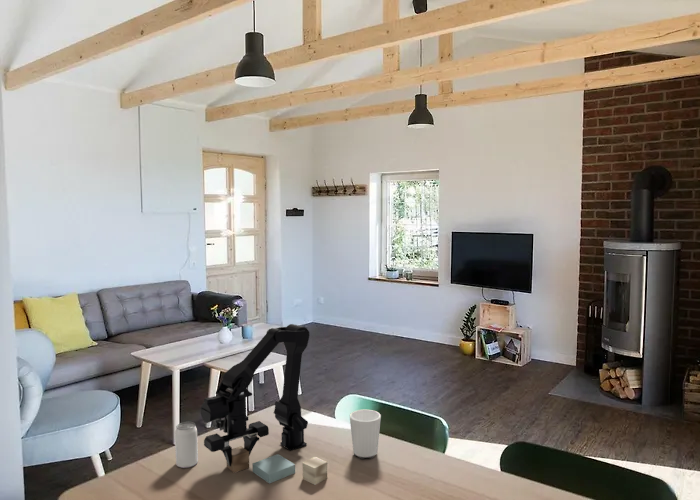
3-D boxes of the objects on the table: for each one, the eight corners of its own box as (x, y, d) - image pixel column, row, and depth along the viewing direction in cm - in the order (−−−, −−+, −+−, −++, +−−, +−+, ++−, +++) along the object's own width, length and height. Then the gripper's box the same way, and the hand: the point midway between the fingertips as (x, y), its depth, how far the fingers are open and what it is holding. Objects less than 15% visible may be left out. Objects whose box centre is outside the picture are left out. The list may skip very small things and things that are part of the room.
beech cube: (315, 472, 159) (314, 456, 158) (327, 478, 155) (327, 461, 155) (302, 479, 155) (302, 462, 155) (315, 485, 152) (314, 468, 151)
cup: (344, 458, 167) (344, 418, 166) (356, 445, 176) (356, 407, 175) (375, 464, 163) (374, 423, 162) (385, 450, 173) (385, 411, 171)
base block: (278, 463, 165) (278, 453, 165) (295, 474, 159) (295, 464, 158) (252, 473, 159) (252, 463, 159) (269, 484, 153) (269, 474, 152)
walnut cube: (241, 461, 166) (241, 445, 165) (249, 467, 162) (249, 451, 161) (226, 466, 163) (226, 450, 162) (234, 473, 159) (233, 456, 158)
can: (191, 469, 161) (190, 430, 160) (171, 467, 162) (170, 429, 161) (201, 459, 167) (200, 422, 166) (182, 457, 169) (181, 420, 168)
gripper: (251, 398, 173) (252, 445, 174) (195, 412, 161) (197, 462, 163) (269, 408, 164) (270, 457, 166) (211, 424, 153) (213, 477, 154)
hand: (237, 463), depth 162 cm, fingers closed on walnut cube, 5 cm apart
